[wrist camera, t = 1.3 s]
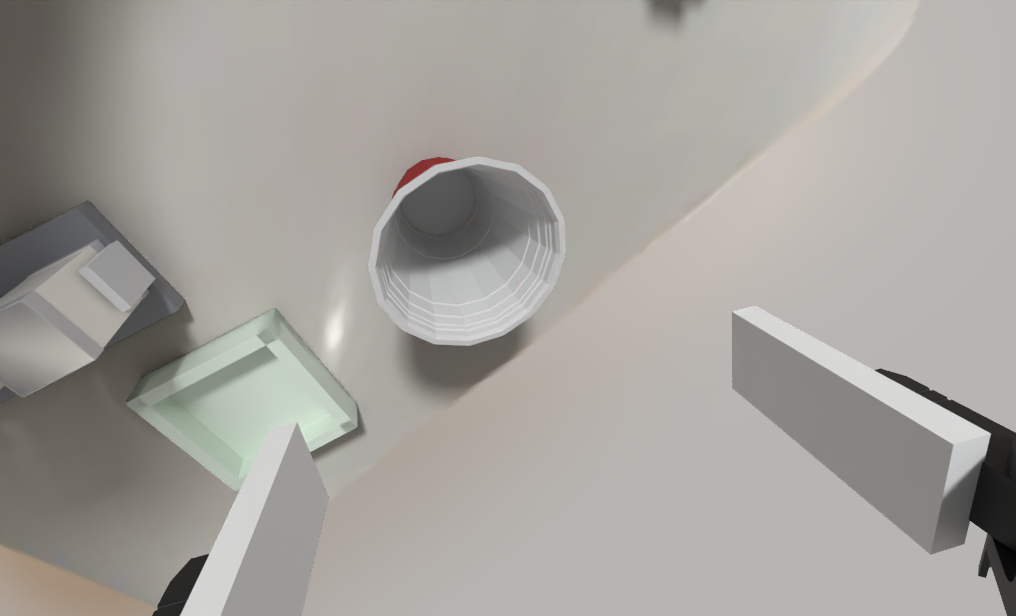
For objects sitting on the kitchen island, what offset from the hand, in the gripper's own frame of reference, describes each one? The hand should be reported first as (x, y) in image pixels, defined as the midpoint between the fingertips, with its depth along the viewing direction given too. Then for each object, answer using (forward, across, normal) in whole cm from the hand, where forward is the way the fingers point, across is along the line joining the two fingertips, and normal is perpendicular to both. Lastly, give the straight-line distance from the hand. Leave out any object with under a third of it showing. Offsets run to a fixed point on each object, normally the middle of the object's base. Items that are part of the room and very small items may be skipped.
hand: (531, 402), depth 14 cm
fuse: (+21, -23, +3) cm, 31 cm away
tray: (+25, -19, -9) cm, 32 cm away
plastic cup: (+24, -1, +3) cm, 24 cm away
